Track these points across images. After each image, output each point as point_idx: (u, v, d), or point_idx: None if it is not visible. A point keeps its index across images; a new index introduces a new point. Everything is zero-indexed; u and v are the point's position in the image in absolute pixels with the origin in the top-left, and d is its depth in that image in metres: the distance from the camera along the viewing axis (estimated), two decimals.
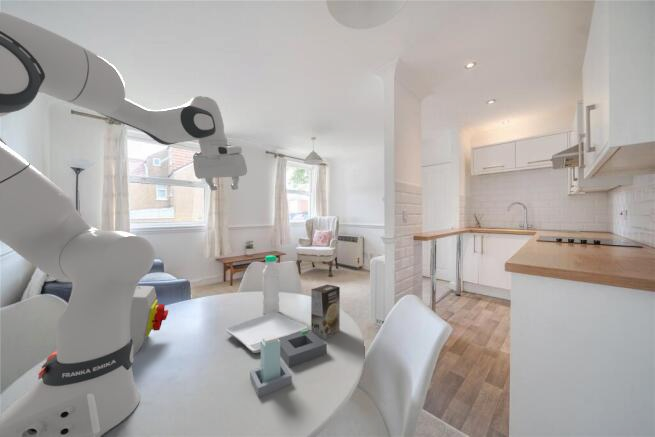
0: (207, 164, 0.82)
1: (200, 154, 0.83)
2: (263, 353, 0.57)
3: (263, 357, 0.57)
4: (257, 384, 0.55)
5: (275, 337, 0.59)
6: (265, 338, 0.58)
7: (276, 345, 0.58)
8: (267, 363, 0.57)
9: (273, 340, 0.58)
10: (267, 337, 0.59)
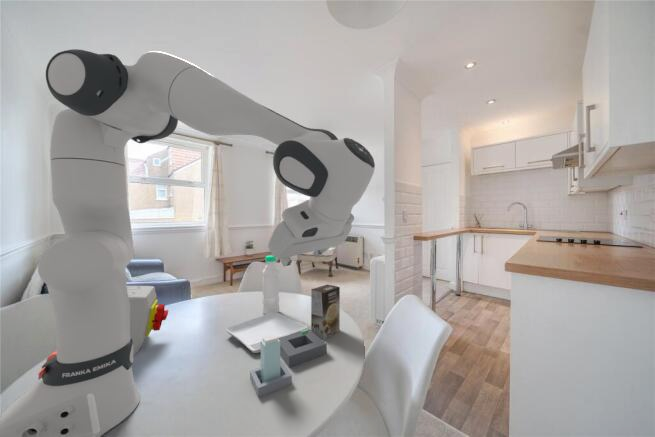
0: None
1: None
2: (263, 353, 0.57)
3: (263, 357, 0.57)
4: (257, 384, 0.55)
5: (275, 337, 0.59)
6: (265, 338, 0.58)
7: (276, 345, 0.58)
8: (267, 363, 0.57)
9: (273, 340, 0.58)
10: (267, 337, 0.59)
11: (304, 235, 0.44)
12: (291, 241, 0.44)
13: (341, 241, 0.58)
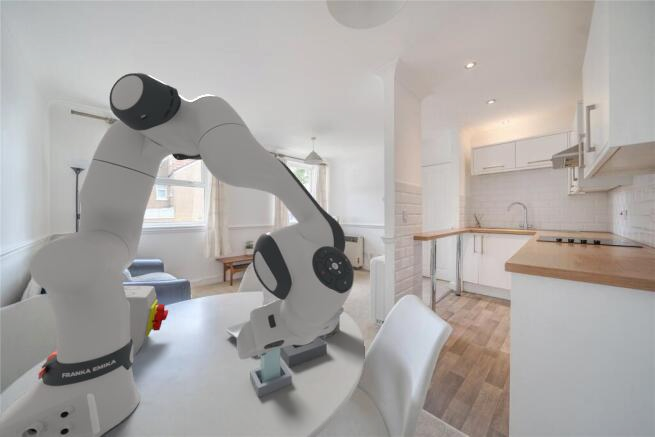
0: None
1: None
2: None
3: (263, 357, 0.57)
4: (257, 384, 0.55)
5: None
6: None
7: None
8: (267, 363, 0.57)
9: None
10: None
11: (267, 347, 0.38)
12: (253, 350, 0.39)
13: (328, 331, 0.51)
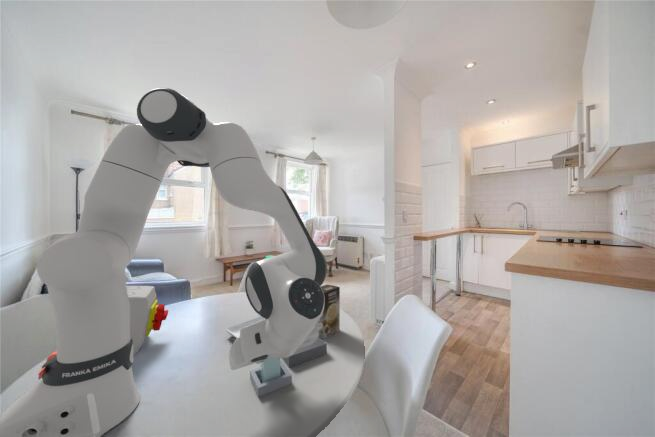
0: None
1: None
2: None
3: None
4: (257, 384, 0.55)
5: None
6: None
7: None
8: (267, 363, 0.57)
9: None
10: None
11: (253, 361, 0.46)
12: (242, 363, 0.47)
13: (309, 344, 0.59)
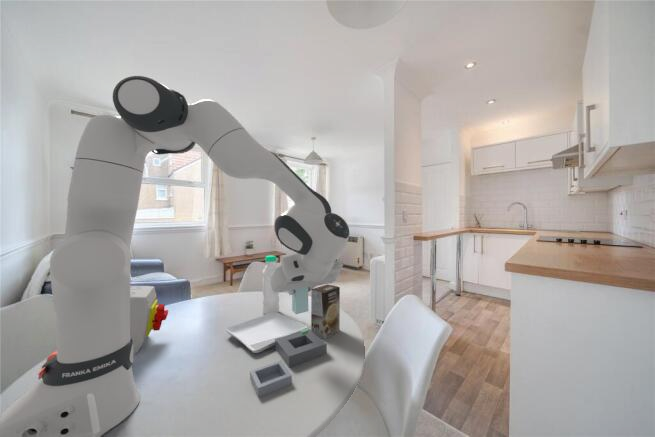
0: None
1: None
2: None
3: (295, 290, 0.70)
4: (257, 384, 0.55)
5: None
6: None
7: None
8: (298, 294, 0.70)
9: None
10: None
11: (293, 280, 0.59)
12: (284, 283, 0.60)
13: (332, 280, 0.72)
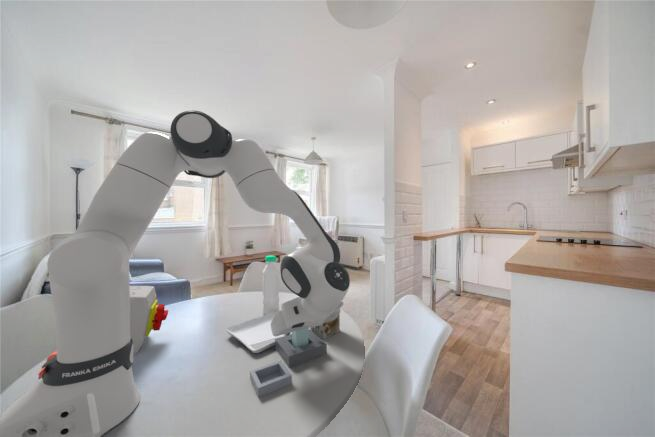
0: None
1: None
2: (295, 331, 0.70)
3: (295, 334, 0.70)
4: (257, 384, 0.55)
5: None
6: None
7: None
8: (298, 339, 0.70)
9: None
10: None
11: (293, 327, 0.59)
12: (284, 329, 0.60)
13: (332, 319, 0.72)
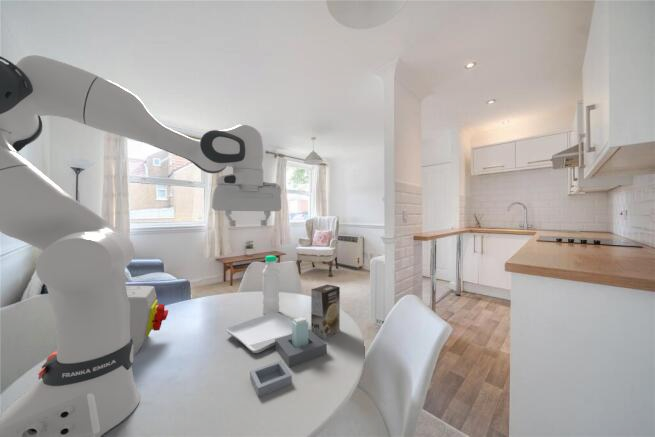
0: None
1: None
2: (295, 331, 0.70)
3: (295, 334, 0.70)
4: (257, 384, 0.55)
5: (304, 319, 0.72)
6: (296, 319, 0.71)
7: (305, 325, 0.71)
8: (298, 339, 0.70)
9: (302, 321, 0.71)
10: (297, 319, 0.72)
11: (225, 180, 0.66)
12: (219, 188, 0.66)
13: (276, 205, 0.75)
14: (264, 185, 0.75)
